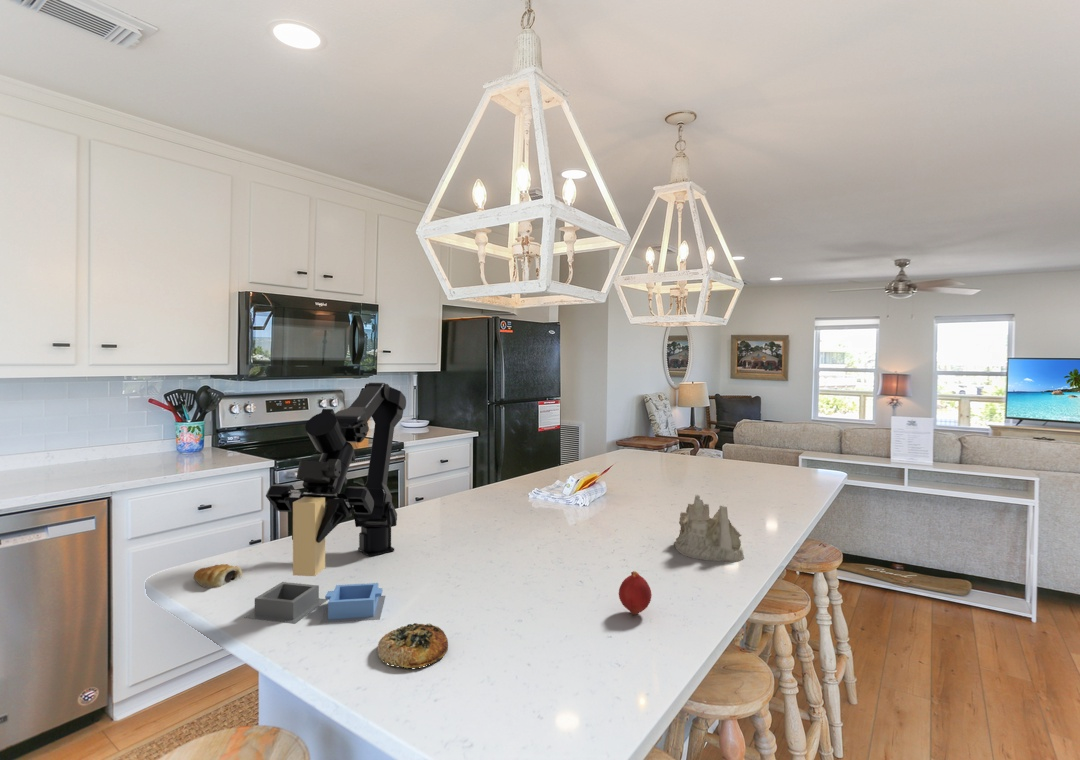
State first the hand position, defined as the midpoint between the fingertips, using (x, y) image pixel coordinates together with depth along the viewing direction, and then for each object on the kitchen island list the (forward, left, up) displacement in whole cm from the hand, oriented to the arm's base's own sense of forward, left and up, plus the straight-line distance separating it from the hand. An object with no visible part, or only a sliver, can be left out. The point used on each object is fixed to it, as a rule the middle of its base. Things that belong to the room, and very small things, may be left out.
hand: (305, 541), depth 99 cm
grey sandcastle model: (-87, +28, -14) cm, 93 cm away
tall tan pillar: (-1, -1, -6) cm, 6 cm away
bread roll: (-8, +23, -14) cm, 28 cm away
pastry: (+8, -27, -14) cm, 31 cm away
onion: (-45, +38, -14) cm, 61 cm away
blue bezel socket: (-7, +4, -13) cm, 16 cm away
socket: (+2, -4, -13) cm, 14 cm away
